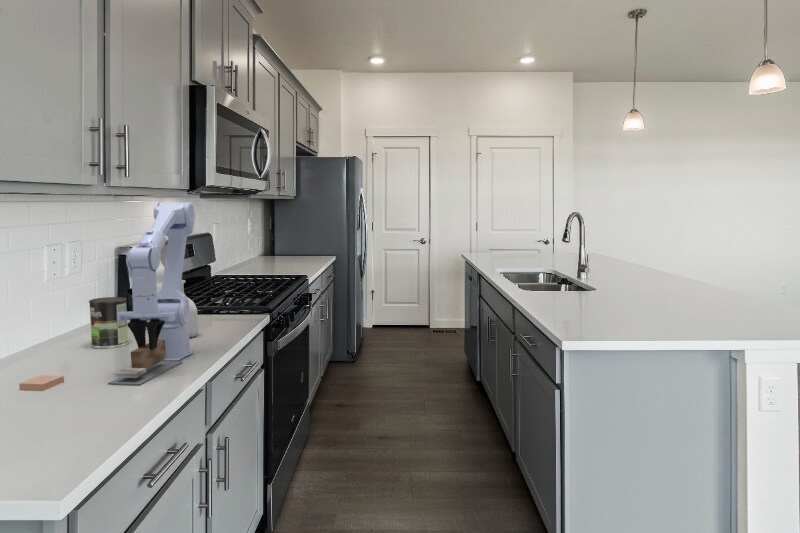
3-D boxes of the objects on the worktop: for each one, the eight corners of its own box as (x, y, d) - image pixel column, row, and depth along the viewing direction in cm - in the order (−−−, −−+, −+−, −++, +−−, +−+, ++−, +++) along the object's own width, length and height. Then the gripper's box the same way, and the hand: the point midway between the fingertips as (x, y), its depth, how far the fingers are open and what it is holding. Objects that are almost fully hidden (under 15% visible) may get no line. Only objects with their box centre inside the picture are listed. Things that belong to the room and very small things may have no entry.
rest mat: (154, 362, 164) (154, 360, 164) (182, 362, 163) (182, 361, 163) (107, 384, 143) (107, 382, 143) (139, 385, 142) (139, 383, 142)
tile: (41, 375, 146) (19, 383, 139) (63, 376, 145) (42, 384, 139) (41, 382, 146) (19, 391, 140) (64, 383, 146) (43, 392, 139)
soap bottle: (189, 332, 203) (186, 265, 201) (200, 337, 196) (197, 267, 194) (160, 336, 197) (156, 266, 195) (170, 341, 190) (167, 269, 188)
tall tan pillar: (152, 357, 160) (151, 339, 159) (170, 358, 159) (169, 339, 159) (116, 377, 144) (114, 356, 143) (136, 377, 143) (134, 357, 143)
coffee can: (101, 350, 178) (99, 303, 177) (85, 345, 185) (82, 300, 183) (135, 344, 186) (132, 298, 185) (118, 339, 193) (116, 295, 191)
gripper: (108, 297, 148) (111, 351, 150) (164, 297, 147) (166, 352, 148) (124, 293, 155) (127, 345, 157) (178, 293, 154) (180, 346, 155)
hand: (147, 348), depth 153 cm, fingers closed on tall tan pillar, 2 cm apart
